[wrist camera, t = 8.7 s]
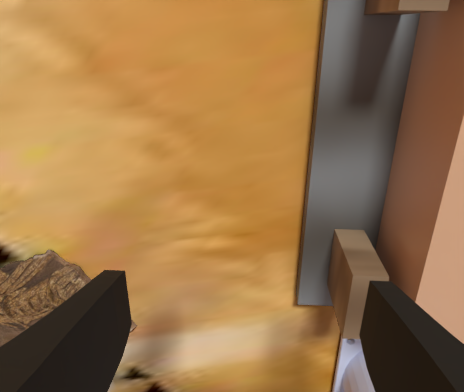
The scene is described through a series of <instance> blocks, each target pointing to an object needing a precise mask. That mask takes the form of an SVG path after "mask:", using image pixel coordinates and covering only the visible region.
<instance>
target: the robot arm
mask: <svg viewBox="0 0 464 392" xmlns="http://www.w3.org/2000/svg"><path fill="white" fill-rule="evenodd" d="M131 325H132V322H131V314H130V306H129V299H128V291H127V284H126V276H125V271H115V270H104V271H103V272H102V273H100V274H99V275H98V276H96V277H95V278H94V279H92V280H91V281H90V282H89V283H87V284H86V285H85V286H84V287H82V288H81V289H80V290H79V291H77V292H76V293H75V294H73V295H72V296H71V297H70V298H68V299H67V300H66V301H64V302H63V303H62V304H61V305H59V306H58V307H57V308H55V309H54V310H53V311H51V312H50V313H49V314H47V315H46V316H44V317H43V318H42V319H40V320H39V321H37V322H36V323H35V324H33V325H32V326H30V327H29V328H28V329H26V330H25V331H23V332H22V333H20V334H19V335H18V336H16V337H15V338H13V339H12V340H10V341H9V342H7V343H5V344H4V345H2V346H1V347H0V392H107V391H108V389H109V387H110V384H111V382H112V380H113V377H114V375H115V373H116V370H117V368H118V366H119V363H120V361H121V359H122V356H123V353H124V350H125V346H126V343H127V340H128V336H129V332H130V329H131ZM359 336H360V339H351V340H347V339H342V335H341V341H340V347H339V353H338V359H337V365H336V371H335V377H334V383H333V389H332V392H464V344H463V343H462V342H461V341H459V340H458V339H457V338H456V337H454V336H453V335H452V334H451V333H450V332H448V331H447V330H446V329H445V328H444V327H443V326H441V325H440V324H439V323H438V322H437V321H436V320H434V319H433V318H432V317H431V316H430V315H429V314H428V313H427V312H425V311H424V310H423V309H422V308H421V307H420V306H419V305H418V304H416V303H415V302H414V301H413V300H412V299H411V298H410V297H409V296H408V295H406V294H405V293H404V292H403V291H402V290H401V289H400V288H399V287H397V286H396V285H395V284H394V283H393V282H391V281H370V282H369V287H368V292H367V297H366V302H365V308H364V313H363V318H362V323H361V328H360V334H359Z"/></svg>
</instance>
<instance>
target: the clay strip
mask: <svg viewBox="0 0 464 392" xmlns="http://www.w3.org/2000/svg"><path fill="white" fill-rule="evenodd" d="M375 251H376V253H377V255H378V257H379V259H380V260H381V262H382V264H383V266H384V268H385V270H386V272H387V273H388V275H389V281H391V282H393V283H394V284H395V285H396V286H397V287H399V288H400V289H401V290H402V291H403V292H404V293H405V294H406V295H408V296H409V297H410V298H411V299H412V300H413V301H414V302H415V303H416V304H418V305H419V306H420V307H421V308H422V309H423V310H424V311H425V312H427V313H428V314H429V315H430V316H431V317H432V318H433V319H434V320H436V321H437V322H438V323H439V324H440V325H441V326H443V327H444V328H445V329H446V330H447V331H448V332H450V333H451V334H452V335H453V336H454V337H456V338H457V339H458V340H459V341H461V342H462V343H463V344H464V0H450V1H449V6H448V10H447V11H438V12H427V13H420V19H419V24H418V29H417V35H416V40H415V45H414V50H413V56H412V61H411V66H410V71H409V77H408V82H407V87H406V92H405V98H404V103H403V108H402V113H401V119H400V124H399V129H398V134H397V140H396V145H395V150H394V155H393V161H392V166H391V171H390V176H389V182H388V187H387V192H386V198H385V203H384V208H383V213H382V219H381V224H380V229H379V234H378V240H377V245H376V250H375Z"/></svg>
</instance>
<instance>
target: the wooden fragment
mask: <svg viewBox="0 0 464 392" xmlns="http://www.w3.org/2000/svg"><path fill="white" fill-rule="evenodd" d="M90 281H91V279H90V278H89V277H88V276H87V275H86V274H85V273H84V272H83V271H82V270H81V268H80V267H78V266H76V265H75V264H69V262H66V261H65V260H64V259H62V258H61V257H59V256H58V255H57V254H56V253H55V252H54V251H51V250H47V252H46V253H45V254H41V255H34V256H33V258H29V259H28V260H26V261H14V262H10V264H7V265H5V267H3V268H0V347H1V346H2V345H4V344H5V343H7V342H9V341H10V340H12V339H13V338H15V337H16V336H18V335H19V334H20V333H22V332H23V331H25V330H26V329H28V328H29V327H30V326H32V325H33V324H35V323H36V322H37V321H39V320H40V319H42V318H43V317H44V316H46V315H47V314H49V313H50V312H51V311H53V310H54V309H55V308H57V307H58V306H59V305H61V304H62V303H63V302H64V301H66V300H67V299H68V298H70V297H71V296H72V295H73V294H75V293H76V292H77V291H79V290H80V289H81V288H82V287H84V286H85V285H86V284H87V283H89V282H90ZM131 322H132V325H131V329H130V331H132V330H133V329H134V328H135V327H136V326H137V325H136V324H135V323H134V322H133V321H132V320H131Z"/></svg>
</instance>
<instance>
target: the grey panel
mask: <svg viewBox="0 0 464 392" xmlns="http://www.w3.org/2000/svg"><path fill="white" fill-rule="evenodd" d="M449 1H450V0H324V7H323V18H322V28H321V38H320V49H319V59H318V70H317V80H316V90H315V101H314V111H313V122H312V132H311V142H310V153H309V163H308V173H307V184H306V194H305V205H304V215H303V225H302V236H301V246H300V257H299V267H298V277H297V288H296V297H297V303H298V305H321V306H333V307H334V311H335V314H336V318H337V321H338V325H339V328H340V332H341V335H342V339H360V336H359V334H360V328H361V323H362V318H363V313H364V308H365V302H366V297H367V292H368V287H369V282H370V281H389V275H388V273H387V272H386V270H385V268H384V266H383V264H382V262H381V260H380V259H379V257H378V255H377V253H376V251H375V250H376V245H377V240H378V234H379V229H380V224H381V219H382V213H383V208H384V203H385V198H386V192H387V187H388V182H389V176H390V171H391V166H392V161H393V155H394V150H395V145H396V140H397V134H398V129H399V124H400V119H401V113H402V108H403V103H404V98H405V92H406V87H407V82H408V77H409V71H410V66H411V61H412V56H413V50H414V45H415V40H416V35H417V29H418V24H419V19H420V13H427V12H438V11H447V10H448V6H449Z"/></svg>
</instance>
